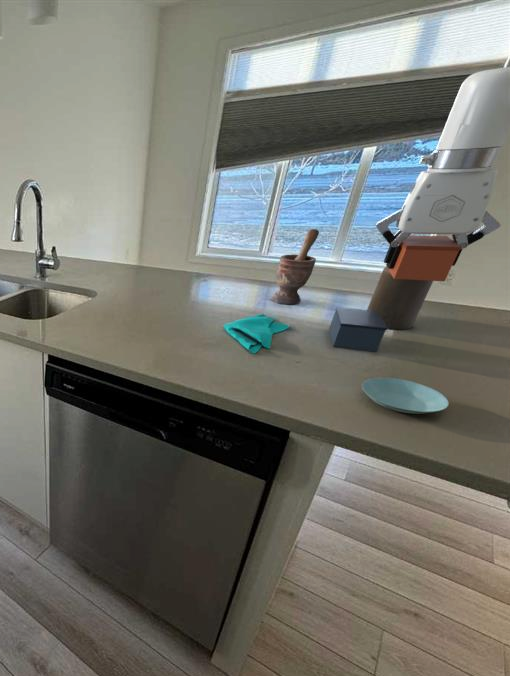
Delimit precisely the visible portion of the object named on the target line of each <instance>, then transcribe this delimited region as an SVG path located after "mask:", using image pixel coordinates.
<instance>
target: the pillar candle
mask: <svg viewBox="0 0 510 676" xmlns="http://www.w3.org/2000/svg"><path fill="white" fill-rule="evenodd" d="M433 283H434V281H427V280H408V279H394V278H393V276H392V275H391V273H390V272H389V270H388V269H387V267H386V266H385V267H384V268H383V269H382V271H381V274H380V276H379V279H378V281H377V284H376V287H375V289H374V292H373V294H372V297H371V299H370V300H369V304H368V307H367V309H366V310H370V311H378V312H379V314H380V315H381V317H382V319H383V321H384V323H385V325H386V327H387V330H398V331H399V330H400V331H401V330H409V329H411V328H412V327H414V324H415V322H416V320H417V317H418V315H419V312H420V311H421V310H422V309H421V308H422V307H423V304H424V302H425V300H426V298H427V295H428V294H429V291H430V290H431V287H432V285H433Z"/></svg>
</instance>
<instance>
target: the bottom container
mask: <svg viewBox="0 0 510 676" xmlns="http://www.w3.org/2000/svg"><path fill="white" fill-rule="evenodd" d="M334 310H335V311H334V313H333V316H332V319H331V322H330V326H329V327H328V333H329V336H330V340H331V345H332V347H333V348H340V349H348V350H357V351H364V352H365V351H366V352H374V353H376V352H377V351H378V349H379V346H380V345H381V342H382V339H383V337H384V335H385V333H386V331H387V330H388V329H387V327H386V325H385V323H384V321H383V319H382V317H381V315H380V314H379V312H378V311H370V310H367V309H356V308H345V307H335V309H334Z"/></svg>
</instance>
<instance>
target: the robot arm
mask: <svg viewBox="0 0 510 676" xmlns="http://www.w3.org/2000/svg"><path fill="white" fill-rule="evenodd" d="M509 132H510V66H506V67H499V68H492V69H485V70H480V71H476V72H475V73H472V74H470V75H468V76H467V77H466V78H465V79H464V81H463V82H462V83H461V86H460V87H459V90H458V92H457V95H456V97H455V99H454V102H453V105H452V107H451V110H450V112H449V114H448V117H447V120H446V122H445V125H444V128H443V130H442V132H441V135H440V137H439V139H438V140H439V141H438V143H437V145H436V148H435V149H434V150H433V152H431V153H429V154H423V155H421V157H420V159H419V163H418V164H419V165H426V166H427V169H426V170H422V171H421V172H420V173H419V175H418V177H417V178H416V180H415V182H414V184H413V185H412V187H411V190H410V191H409V193H408V195H407V197H406V199H405V201H404V203H403V205H402V207H401V208H400V209H399V210H397V211H395V212H393V213H391V214H390V215H388V216H386V217H384V218H382V219H381V220H379V221H377V222H376V223H375V227H376V228H377V230H378V232H379V233H380V234H381V235H382V237H383V238H384V240H386V242H387V243H388V244H389V246H388V249H387V251H386V253H385V256H384V260H383V263H384V264H385V267H386V266H387V267H388V269H392V268H394V266H395V264H396V261H397V259H398V256H399V254H400V251H401V247H400V246H401V243H402V242H403V241H404V240H405V239H406V238H407V237H408V236H411V235H451V239H452V240H453V241H454V242H456V243H457V244H458V245H460V246H461V247H462V248H461V250H459V252H458V254H457V256H456V258H455V260H454V263H453V265H452V267H454V266H455V265H456V264H457V262H458V259H459V257H460V255H461V254H462V251H463V249H466V248H468V246H470V245H472V244H474V243H475V242H478V241H480V240H481V239H483V238H484V237H485V236H488V235H489V234H491V233H492V232H494V231H496V230H497V229H499V228H500V227H501V223H500V222H499V221H498V220H497V219H496V218H494V217H493V215H491V214H490V213H489V212H488V211H487V209H488V206H489V203H490V201H491V198H492V195H493V193H494V190H495V185H496V182H497V179H498V175H499V168H495V167H494V168H493V166H494V164H495V163H496V160H497V158H498V155H499V153H500V151H501V149H502V146H503V145H504V143H505V140H506V138H507V137H508V135H509ZM395 222H396V223H395ZM393 223H395V226H396V227H397V228H398V231H396V233H395V234H394V233H393V232H392V231H391V230H390V228H389V226H390V225H391V224H393ZM481 223H482V226H481V227H480V225H481ZM479 227H480V228H479Z"/></svg>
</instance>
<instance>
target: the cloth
mask: <svg viewBox="0 0 510 676" xmlns="http://www.w3.org/2000/svg"><path fill="white" fill-rule="evenodd" d="M275 320H276V317H274V316H273V317H272V316H266V314H264V313H260V314H256V315H253V316H247V317H244V318H241V319H236V320H234V321H231V322H227V323H225V324H223V328H224V330H225V331H226V333H228V334H229V335H230V336H231V337H232V338H234V339H235V340H236V341H238V342H239V344H240V345H242V347H244V348H245V349H247V350H248V351H249V352H250V353H251V354H253V355H255V354H256V353H258V352H259V351H260V349H261V348H262V347H264V348H266V349H268V350H271V345H272V339H273V335H274V334H278V333H281V332H284V331H285V330H288V329H289V328H291V325H289V324H285V323H282V322H276V321H275Z"/></svg>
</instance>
